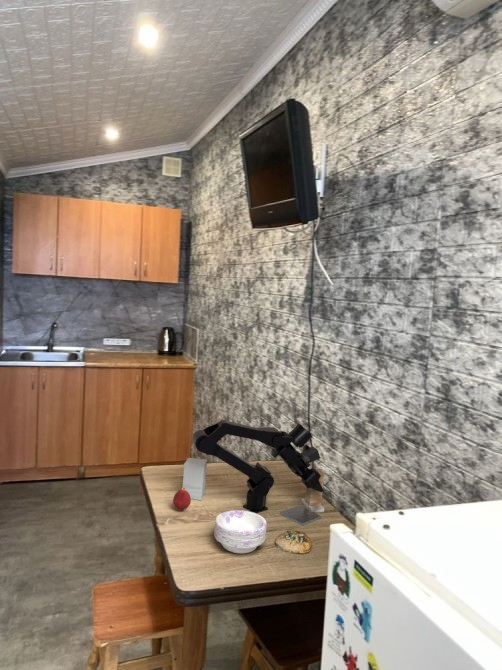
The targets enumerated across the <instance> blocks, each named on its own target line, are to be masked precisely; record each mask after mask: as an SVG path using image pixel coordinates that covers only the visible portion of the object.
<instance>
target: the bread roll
mask: <svg viewBox="0 0 502 670" xmlns="http://www.w3.org/2000/svg"><path fill="white" fill-rule="evenodd" d="M274 542H275V546H277V549H279V550H280V551H284V552H286V553H288V554H303V555H304V554H308V553H309V552H310V551H311V550H312V548H313V544H312V543H313V541H312V540H311V537H310V536H309V535H308V534H306V532H305V531H301V530H299V529H297V530H286V531H285V532H283V533H281V534H279V535H277V536H276V538H275V540H274Z"/></svg>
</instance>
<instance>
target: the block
mask: <svg viewBox="0 0 502 670" xmlns="http://www.w3.org/2000/svg"><path fill="white" fill-rule="evenodd" d="M314 469H315V470H316V471H318V473H319V474H320V475H321V477H320V479H319V482H320V484H321V486H322V488H323V489H324V480H325V471H323V470H321V469H320V468H314ZM305 487H306V486H305ZM322 498H323V492H319V491H316V490H314V489H311V488H307V487H306V488H305V497H304V498H303V497H302V498H301V503H302V504H303V505H304V506H305V508H306V509H308V510H310V511H312V512H314V513H324V512H325V507H324V506H323V505H322V500H323V499H322Z"/></svg>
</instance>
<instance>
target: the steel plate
mask: <svg viewBox="0 0 502 670" xmlns="http://www.w3.org/2000/svg"><path fill="white" fill-rule="evenodd" d="M279 514H280V516H282V517H285V518H286V519H288V520H290V521H292V522H293V523H295V524H298V525H300V526H301V527H302V526H305V525H307V524H311V523H313V522H316V521H318V520H321V519H322V515H321V514H318V513H317V512H312V511H310V510H309V509H308V508H307V507H304V506H302V505H297V506H294V507H291V508H288V509H285V510H282V511H280V513H279Z"/></svg>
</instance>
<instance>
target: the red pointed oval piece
mask: <svg viewBox="0 0 502 670" xmlns="http://www.w3.org/2000/svg"><path fill="white" fill-rule="evenodd" d="M182 487H183V486H182ZM182 487H181V488H180V490H178V491H177V492H176V493H175V494H174V497H173V500H172V503H173V505H174V508H176V509H177V510H178V511H179V512H183V511H185V510H186V509H187V508H189V506H190V505H191V502H192V501H191V500H192V499H191V497H190V494H189V493H188V492H187V491H185V488H184V487H183V488H182Z"/></svg>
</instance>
